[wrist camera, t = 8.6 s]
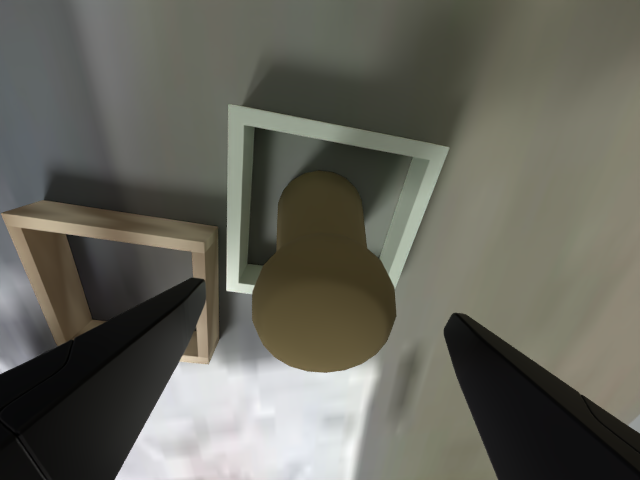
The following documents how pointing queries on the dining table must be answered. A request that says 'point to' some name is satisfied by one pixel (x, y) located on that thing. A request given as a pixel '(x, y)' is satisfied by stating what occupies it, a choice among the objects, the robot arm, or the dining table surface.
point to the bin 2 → (246, 119)
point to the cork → (322, 280)
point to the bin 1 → (60, 219)
